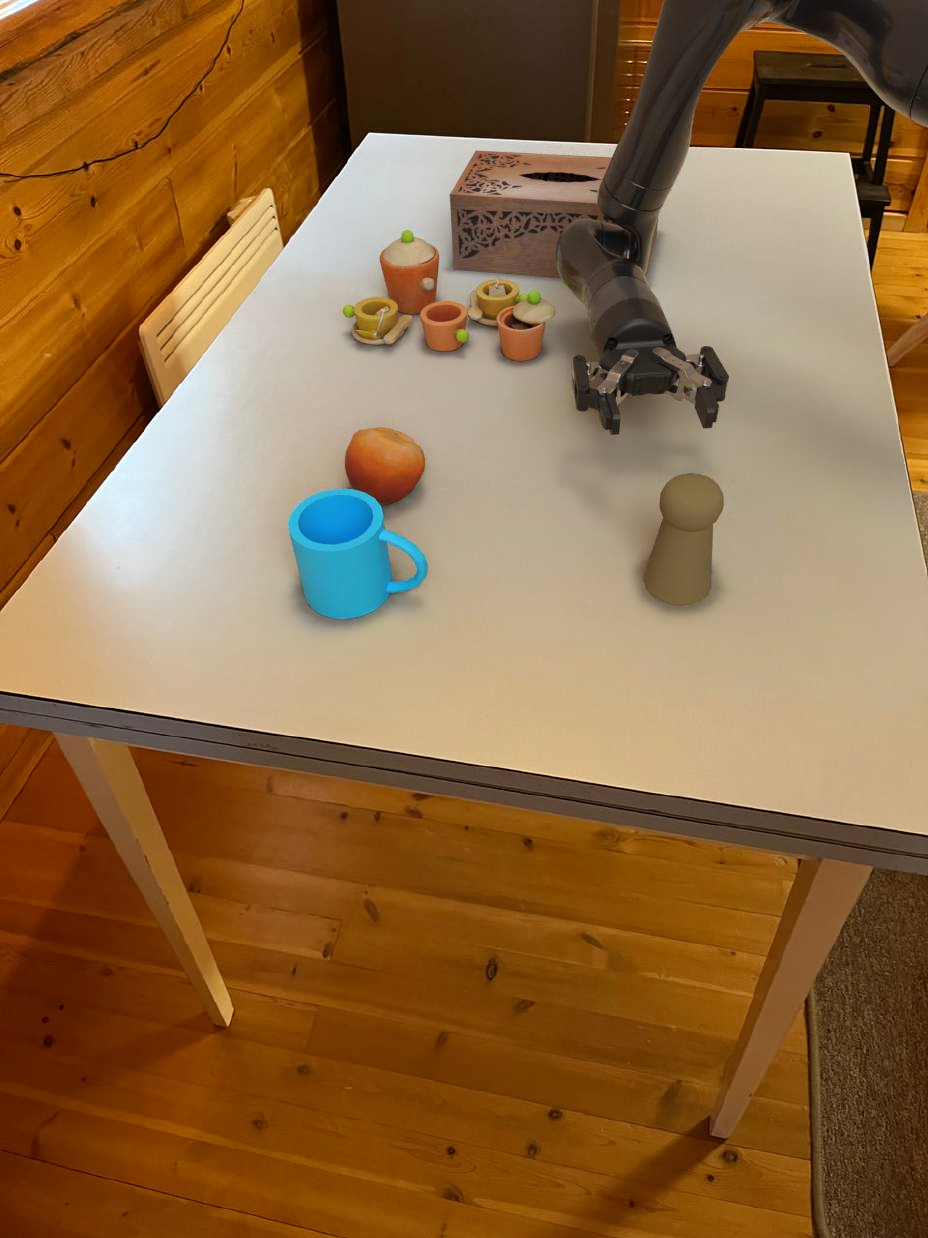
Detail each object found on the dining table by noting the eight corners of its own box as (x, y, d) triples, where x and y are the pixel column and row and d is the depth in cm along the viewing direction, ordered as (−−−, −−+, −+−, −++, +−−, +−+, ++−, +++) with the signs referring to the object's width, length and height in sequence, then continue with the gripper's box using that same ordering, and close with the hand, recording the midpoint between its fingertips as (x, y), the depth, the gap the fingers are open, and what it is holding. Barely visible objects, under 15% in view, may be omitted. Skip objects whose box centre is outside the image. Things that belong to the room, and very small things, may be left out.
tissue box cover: (453, 269, 126) (449, 194, 118) (478, 222, 135) (475, 150, 128) (645, 283, 121) (653, 206, 113) (656, 234, 130) (664, 159, 123)
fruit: (315, 489, 92) (337, 413, 89) (371, 489, 99) (393, 418, 95) (369, 526, 88) (394, 447, 85) (423, 523, 94) (448, 450, 91)
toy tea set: (336, 345, 114) (323, 270, 106) (382, 285, 123) (373, 212, 116) (542, 374, 107) (544, 296, 100) (573, 308, 117) (577, 233, 110)
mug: (290, 610, 83) (272, 543, 77) (323, 550, 89) (308, 482, 83) (417, 633, 81) (409, 565, 75) (443, 569, 86) (437, 501, 80)
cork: (640, 557, 86) (653, 462, 78) (706, 557, 86) (726, 461, 78) (646, 605, 82) (660, 509, 74) (716, 604, 81) (737, 509, 73)
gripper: (561, 301, 92) (587, 394, 81) (703, 291, 92) (748, 382, 81) (559, 367, 98) (582, 462, 87) (693, 357, 98) (733, 451, 87)
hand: (663, 423), depth 84 cm, fingers open, 8 cm apart
